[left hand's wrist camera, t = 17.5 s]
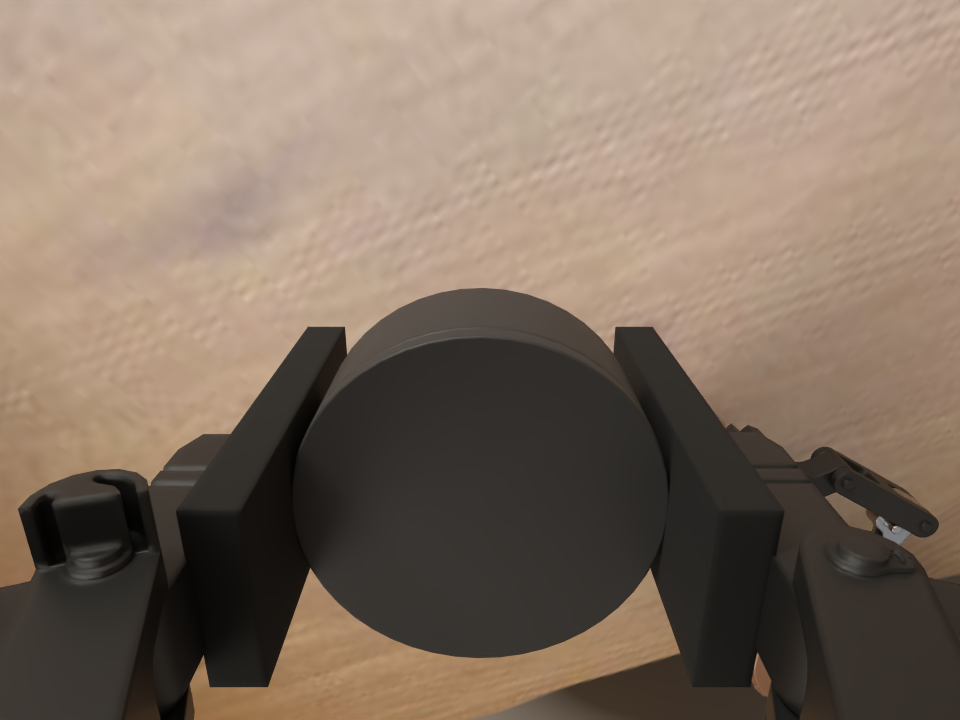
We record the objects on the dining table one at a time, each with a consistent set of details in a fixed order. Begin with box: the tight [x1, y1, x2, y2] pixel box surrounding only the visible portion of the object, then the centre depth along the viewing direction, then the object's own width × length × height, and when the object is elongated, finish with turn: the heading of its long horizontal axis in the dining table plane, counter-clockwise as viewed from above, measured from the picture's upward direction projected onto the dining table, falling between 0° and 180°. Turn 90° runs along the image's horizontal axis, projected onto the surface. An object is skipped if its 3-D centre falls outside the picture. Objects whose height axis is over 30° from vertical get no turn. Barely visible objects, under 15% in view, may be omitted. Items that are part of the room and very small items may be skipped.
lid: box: [291, 288, 669, 658], centre depth 11 cm, size 6×6×2 cm
